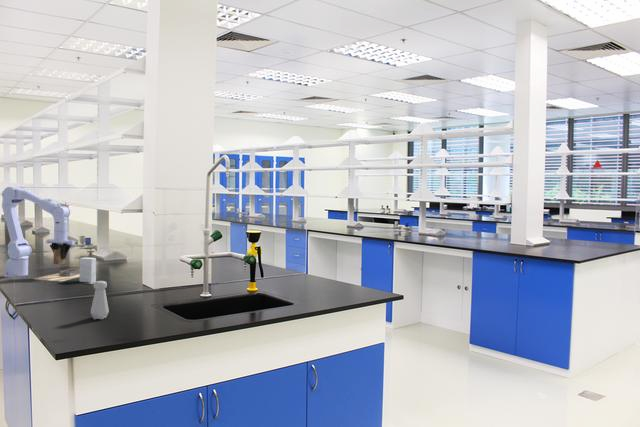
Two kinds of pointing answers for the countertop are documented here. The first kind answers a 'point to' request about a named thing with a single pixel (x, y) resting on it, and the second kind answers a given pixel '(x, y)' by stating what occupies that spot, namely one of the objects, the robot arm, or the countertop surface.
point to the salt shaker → (99, 301)
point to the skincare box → (87, 270)
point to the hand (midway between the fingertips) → (60, 258)
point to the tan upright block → (58, 257)
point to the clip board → (62, 275)
